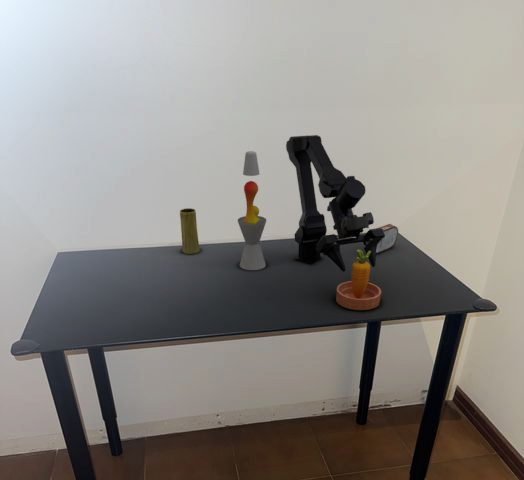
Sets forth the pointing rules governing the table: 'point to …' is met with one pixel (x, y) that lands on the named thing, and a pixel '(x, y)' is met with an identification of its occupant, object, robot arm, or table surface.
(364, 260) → the carrot
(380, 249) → the tin
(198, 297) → the table surface
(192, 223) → the vase
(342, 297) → the bowl
